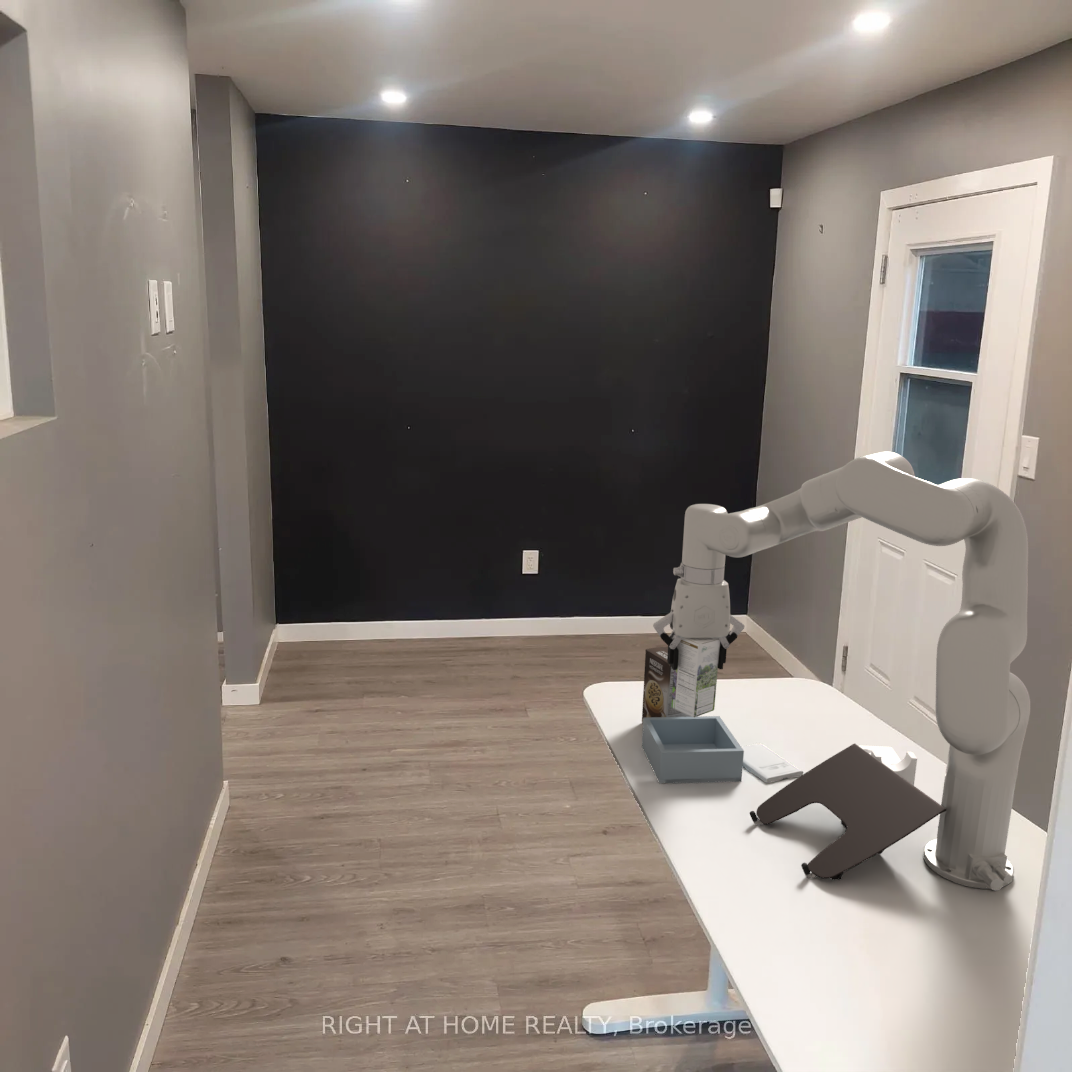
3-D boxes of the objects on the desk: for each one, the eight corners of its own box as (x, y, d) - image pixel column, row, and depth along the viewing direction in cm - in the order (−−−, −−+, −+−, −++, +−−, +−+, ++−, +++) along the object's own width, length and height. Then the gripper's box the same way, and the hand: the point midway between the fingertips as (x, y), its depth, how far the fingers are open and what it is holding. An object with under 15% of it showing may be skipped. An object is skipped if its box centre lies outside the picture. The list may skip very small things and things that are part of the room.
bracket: (912, 798, 166) (917, 758, 164) (871, 796, 166) (875, 756, 165) (889, 764, 179) (893, 726, 177) (851, 762, 179) (855, 725, 177)
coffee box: (640, 723, 193) (644, 648, 190) (666, 718, 196) (671, 644, 192) (664, 741, 185) (668, 663, 182) (691, 735, 188) (696, 659, 184)
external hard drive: (760, 750, 184) (802, 778, 173) (725, 756, 181) (766, 786, 170) (761, 742, 184) (803, 769, 173) (726, 749, 180) (766, 777, 169)
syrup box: (691, 700, 178) (696, 627, 175) (715, 711, 173) (720, 636, 170) (670, 708, 174) (674, 633, 171) (694, 719, 170) (699, 642, 167)
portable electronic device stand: (756, 843, 161) (738, 802, 158) (866, 774, 165) (851, 733, 162) (834, 925, 140) (815, 879, 137) (959, 844, 143) (943, 798, 140)
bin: (741, 781, 170) (743, 750, 168) (659, 783, 168) (661, 752, 167) (717, 744, 184) (719, 716, 183) (641, 746, 183) (643, 717, 181)
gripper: (659, 579, 163) (653, 675, 167) (756, 579, 165) (749, 674, 169) (649, 568, 171) (644, 660, 175) (743, 568, 173) (736, 659, 177)
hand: (696, 666), depth 172 cm, fingers closed on syrup box, 7 cm apart
